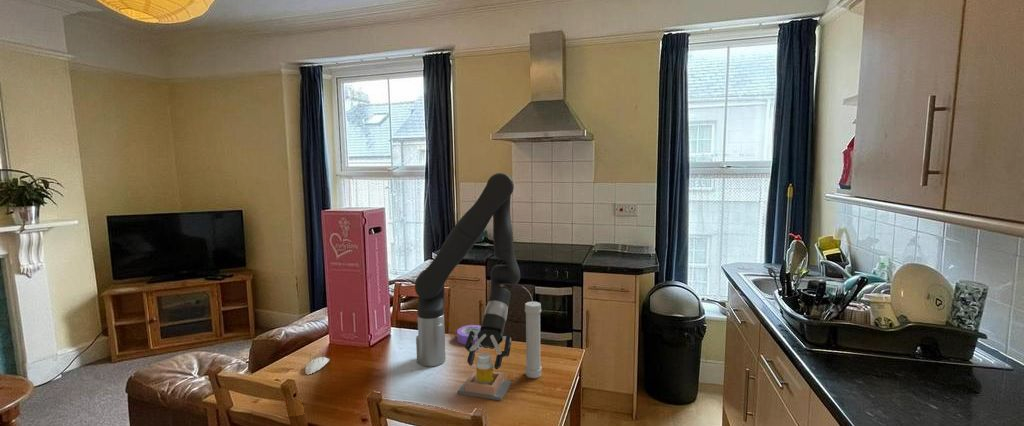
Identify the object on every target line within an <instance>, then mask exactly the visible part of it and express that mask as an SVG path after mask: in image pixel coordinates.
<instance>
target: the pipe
mask: <svg viewBox="0 0 1024 426" xmlns="http://www.w3.org/2000/svg"><path fill="white" fill-rule="evenodd" d="M521 287H522V288H523V289H525V290H526V291H527V293H529V296H530V297H531V301H527V302H526V303H524V313H525V338H526V339H525V345H526V346H525V349H526V350H525V354H526V355H525V357H526V358H525V359H526V365H525V367H524V368H525V376H526V377H527V378H530V379H538V378H541V376H542V369H543V367H542V365H541V361H542V360H541V313H542V304H541V302H538V301H534V300H533V296H532V294H531V293H530V291H529V290H528V289H527V288H526V287H525V286H521Z"/></svg>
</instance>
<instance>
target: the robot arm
mask: <svg viewBox="0 0 1024 426" xmlns="http://www.w3.org/2000/svg"><path fill="white" fill-rule="evenodd" d="M514 187H515V186H514V181H513V179H512V177H510V176H509V175H508V174H506V173H503V172H497V173H494V174H492V175H490V177H489V179H488V180H487V183H486V184H485V187H484V189H483V190H482V193H481V194H480V195H479V197H478V198H477V200H476V201H475V202H474V204H473V205H472V206H471V208H469V209H468V210H467V211H466V212H465V213H464V215H462V217H461V218H460V219H459V220H458V221H457V222H456V223H455V225H454V226H453V228H452V230H450V232H449V234H448V235H447V237H446V239H445V240H444V242H443V243H442V245H441V247H440V248H439V251H438V252H437V254H436V256H435V258H434V259H433V260H432V262H430V264H429V265H428V267H426V268H425V269H424V270H422V271H421V272H420V273H419V274H418V276H417V278H416V280H415V283H414V290H415V293H416V295H417V296H418V302H417V311H416V312H417V314H416V315H417V334H418V335H417V336H416V337H415V345H416V348H415V349H416V363H418V364H419V365H422V366H424V367H436V366H440V365H442V364H443V363H445V361H446V335H445V334H446V333H445V283H446V282H447V280H448V278H449V277H450V275H451V273H452V272H453V270H454V269H456V267H457V266H458V265H459V264H460V263H461V262H462V260H463V259H464V258H465V257H466V256H467V255H468V254H469V252H470V251H471V250H472V248H473V247H474V246H475V244H476V243H477V241H478V240H479V239H480V237H481V236H482V234H483V233H484V231H485V229H486V228H487V227H488V224H489V223H490V221H491V219H492V220H493V221H492V224H493V225H492V227H493V229H492V232H493V233H492V235H493V236H492V239H493V254H494V258H496V259H498V260H501V261H504V262H505V263H506V264H496V265H494V266H492V268H491V270H490V293H489V296H488V302H487V305H486V307H485V310H484V313H483V318H482V321H481V325H480V326H481V329H480V332H479V333H474V332H473V331H470V333H469V336H468V339H467V342H466V345H465V344H464V348H465V349H466V350H465V351H467V352H469V353H468V356H467V363H468V366H470V367H471V366H473V365H474V362H475V361H474V360H475V356H476V353H477V352H478V351H480V350H481V349H482V348H483V349H491V350H494V349H495V350H496V352H497V355H496V357H495V362H494V364H493V369H495V370H499V368H501V367H502V366H501V365H502V360H503V358H504V357H509V356H510V353H511V346H512V337H511V336H510V335H509V334H507V335H503V334H504V330H505V327H506V322H507V319H508V310H509V304H510V300H511V296H512V295H511V291H510V290H509V289H507V288H506V287H504V286H516V285H517V284H518V283H519V282H520V280H521V270H520V267H519V264H518V261H517V259H516V255H515V246H514V232H513V224H512V219H511V197H512V195H513V192H514V190H515V189H514ZM502 285H503V286H502ZM477 337H478V339H479V340H477V341H476V342H475V344H474V345H472V344H473V341H474V340H475V339H476V338H477ZM502 342H503V343H504V347H503V348H504V349H503V350H502V349H501V347H500V344H501V343H502Z"/></svg>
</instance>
